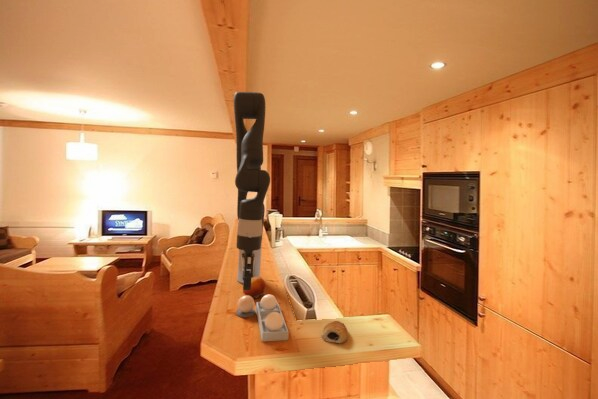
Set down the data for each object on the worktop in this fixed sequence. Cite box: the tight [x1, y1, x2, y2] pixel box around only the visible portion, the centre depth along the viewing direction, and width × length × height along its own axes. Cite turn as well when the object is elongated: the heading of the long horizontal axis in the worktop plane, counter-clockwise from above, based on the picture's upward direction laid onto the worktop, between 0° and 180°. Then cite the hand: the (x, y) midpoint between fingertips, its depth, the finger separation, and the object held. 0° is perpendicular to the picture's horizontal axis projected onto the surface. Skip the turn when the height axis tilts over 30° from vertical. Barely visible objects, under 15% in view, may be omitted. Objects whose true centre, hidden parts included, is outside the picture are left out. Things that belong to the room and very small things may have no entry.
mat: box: [235, 308, 256, 319], centre depth 91 cm, size 6×6×1 cm
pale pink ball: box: [237, 294, 255, 313], centre depth 91 cm, size 5×5×5 cm
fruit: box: [242, 276, 266, 299], centre depth 105 cm, size 8×8×8 cm
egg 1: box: [259, 293, 278, 311], centre depth 92 cm, size 5×5×5 cm
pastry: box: [321, 320, 349, 344], centre depth 82 cm, size 9×7×4 cm
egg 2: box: [265, 312, 284, 332], centre depth 80 cm, size 5×5×5 cm
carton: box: [255, 301, 290, 342], centre depth 86 cm, size 19×7×2 cm, turn 13°
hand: (246, 284), depth 90 cm, fingers open, 8 cm apart
